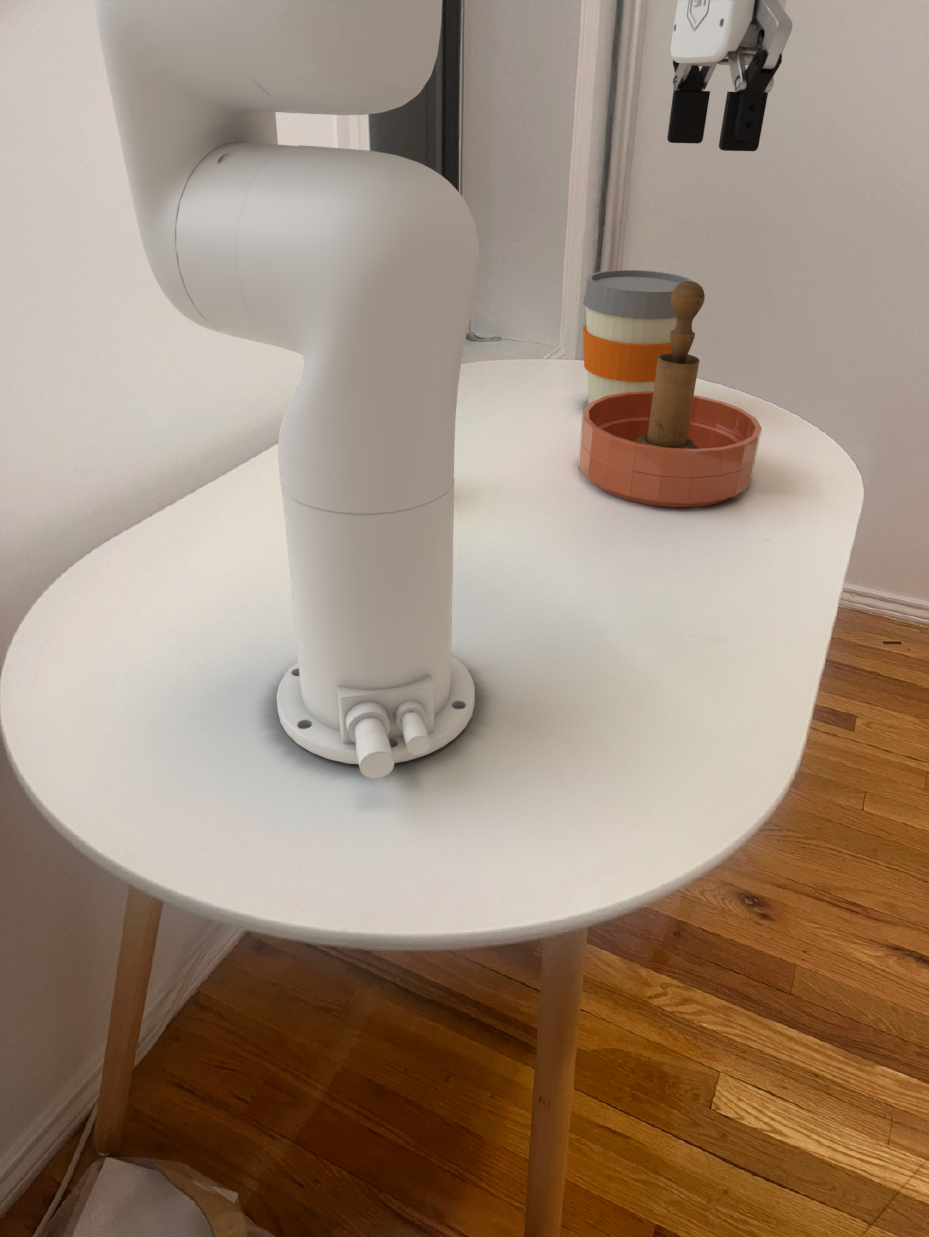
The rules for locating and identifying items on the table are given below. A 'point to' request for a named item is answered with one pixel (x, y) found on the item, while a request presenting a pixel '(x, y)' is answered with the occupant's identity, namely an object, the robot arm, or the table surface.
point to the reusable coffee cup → (626, 329)
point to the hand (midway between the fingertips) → (709, 146)
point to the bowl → (667, 452)
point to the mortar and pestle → (676, 375)
